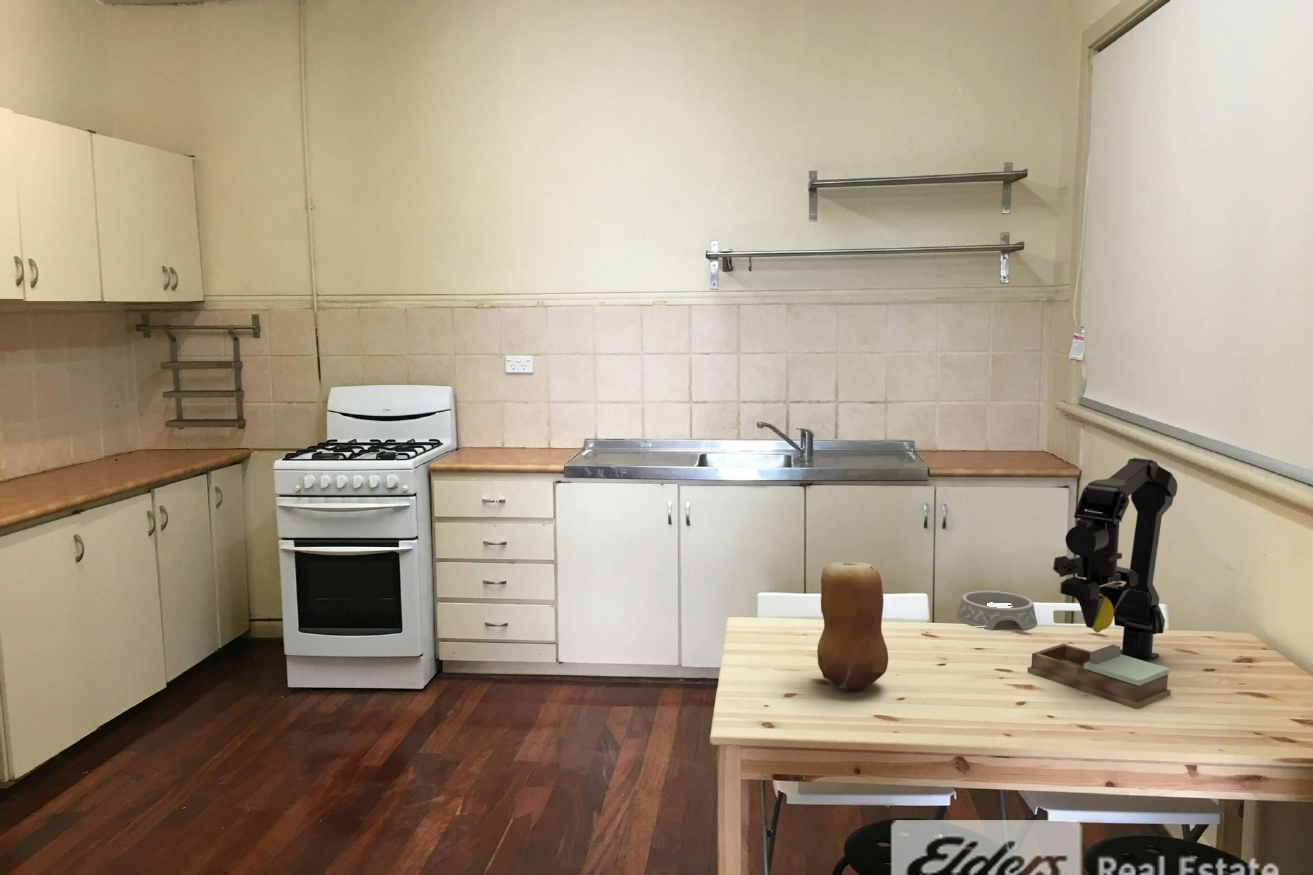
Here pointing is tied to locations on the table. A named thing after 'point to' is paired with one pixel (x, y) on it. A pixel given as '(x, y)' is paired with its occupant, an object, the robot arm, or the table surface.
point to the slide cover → (1123, 666)
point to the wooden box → (1093, 677)
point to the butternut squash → (852, 625)
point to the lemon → (1104, 615)
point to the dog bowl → (996, 610)
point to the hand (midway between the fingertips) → (1097, 624)
